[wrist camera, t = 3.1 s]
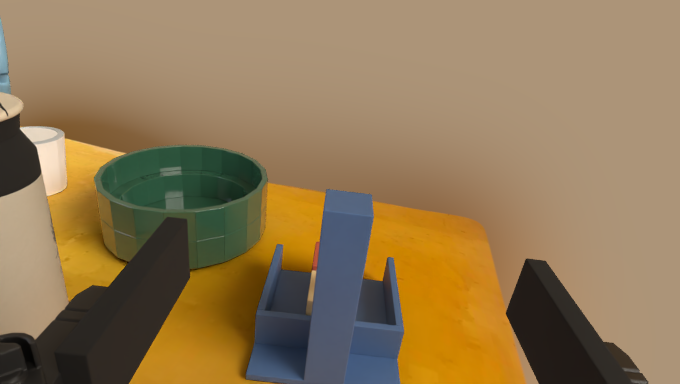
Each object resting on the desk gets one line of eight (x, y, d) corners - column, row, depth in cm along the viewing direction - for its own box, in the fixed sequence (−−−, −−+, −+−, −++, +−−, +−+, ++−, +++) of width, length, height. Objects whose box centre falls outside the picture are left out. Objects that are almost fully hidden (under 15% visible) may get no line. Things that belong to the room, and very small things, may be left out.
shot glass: (7, 204, 48) (-8, 147, 45) (5, 180, 53) (-8, 127, 50) (76, 194, 52) (67, 141, 49) (69, 172, 57) (60, 123, 54)
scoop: (399, 396, 31) (445, 225, 25) (245, 379, 31) (250, 201, 25) (387, 286, 43) (416, 149, 37) (275, 273, 43) (284, 133, 36)
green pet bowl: (64, 241, 43) (52, 180, 40) (179, 183, 58) (177, 135, 55) (201, 296, 38) (199, 231, 35) (289, 218, 53) (293, 167, 50)
